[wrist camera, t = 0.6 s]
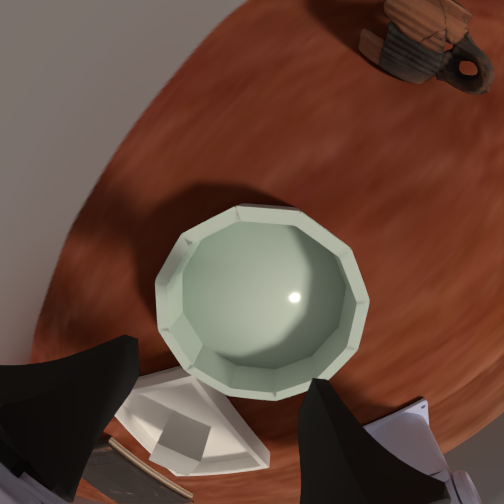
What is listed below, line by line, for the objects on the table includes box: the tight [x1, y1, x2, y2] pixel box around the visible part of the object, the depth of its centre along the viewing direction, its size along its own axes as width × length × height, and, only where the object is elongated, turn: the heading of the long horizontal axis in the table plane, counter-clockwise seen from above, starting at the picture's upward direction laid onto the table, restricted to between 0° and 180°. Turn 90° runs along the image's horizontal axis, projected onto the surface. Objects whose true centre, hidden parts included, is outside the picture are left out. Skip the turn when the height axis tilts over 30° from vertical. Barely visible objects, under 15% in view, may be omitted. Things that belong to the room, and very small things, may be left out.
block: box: [149, 410, 211, 477], centre depth 20 cm, size 4×4×5 cm
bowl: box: [155, 203, 370, 401], centre depth 18 cm, size 13×13×4 cm
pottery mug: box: [358, 0, 494, 95], centre depth 12 cm, size 12×10×8 cm
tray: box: [114, 366, 270, 476], centre depth 22 cm, size 14×12×2 cm
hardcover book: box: [81, 436, 194, 504], centre depth 29 cm, size 16×23×2 cm
